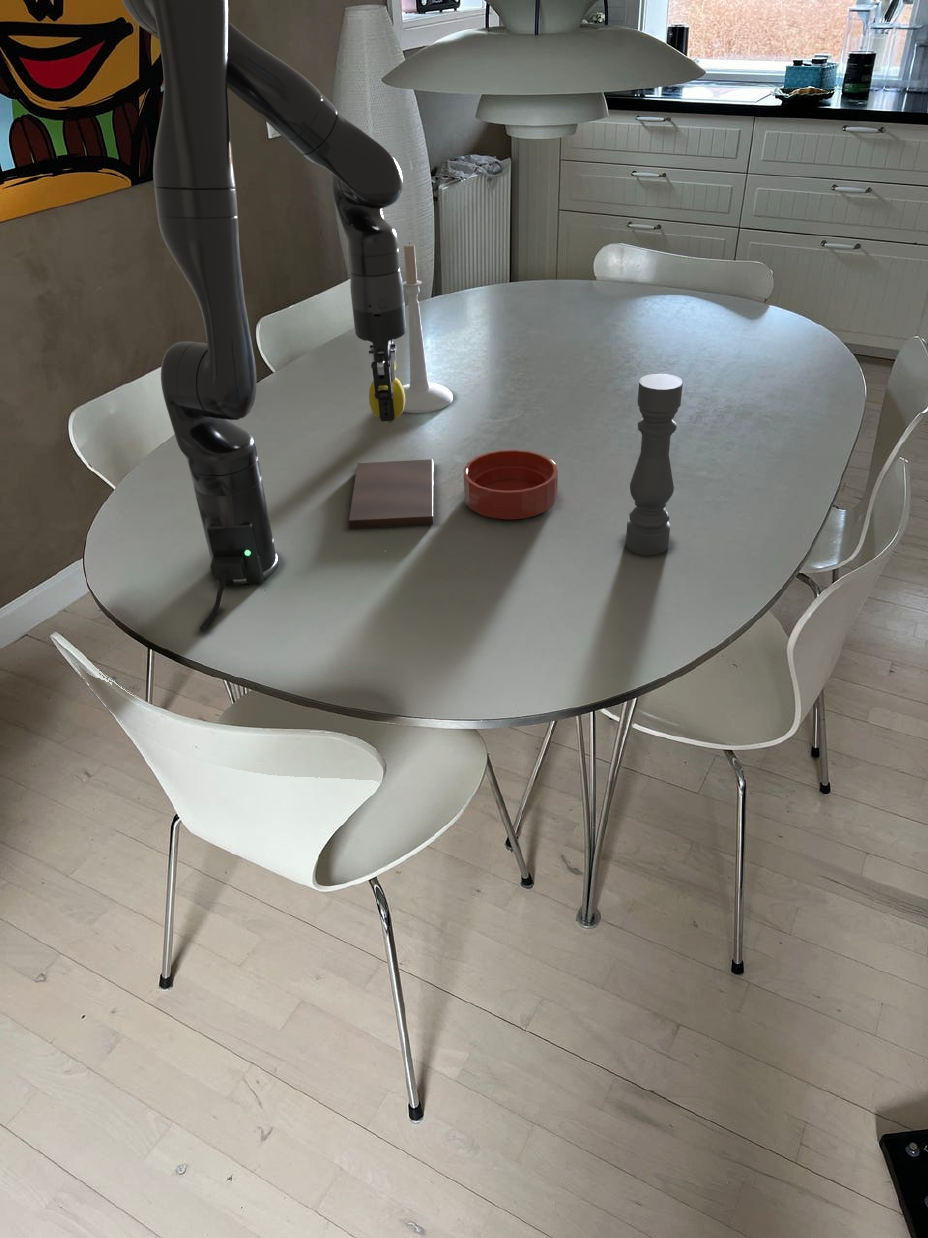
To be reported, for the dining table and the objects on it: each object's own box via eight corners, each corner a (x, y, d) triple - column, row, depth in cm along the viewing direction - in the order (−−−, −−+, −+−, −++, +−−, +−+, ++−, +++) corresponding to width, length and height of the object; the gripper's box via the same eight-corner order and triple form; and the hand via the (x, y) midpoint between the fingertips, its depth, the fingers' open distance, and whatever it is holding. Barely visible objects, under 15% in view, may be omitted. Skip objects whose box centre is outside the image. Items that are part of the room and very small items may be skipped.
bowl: (561, 519, 144) (562, 489, 140) (466, 524, 144) (464, 494, 140) (551, 475, 156) (552, 447, 152) (463, 480, 156) (462, 452, 153)
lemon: (402, 430, 142) (397, 380, 137) (367, 429, 143) (361, 379, 138) (410, 416, 146) (407, 367, 141) (377, 414, 147) (372, 365, 142)
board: (433, 524, 144) (432, 516, 143) (349, 528, 144) (348, 520, 143) (433, 466, 160) (432, 459, 159) (358, 470, 160) (357, 462, 159)
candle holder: (639, 529, 140) (652, 369, 126) (676, 541, 137) (693, 378, 122) (617, 546, 136) (628, 383, 122) (654, 560, 133) (670, 393, 118)
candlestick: (379, 395, 187) (363, 239, 170) (438, 383, 191) (428, 229, 174) (402, 417, 178) (387, 255, 160) (462, 404, 182) (455, 244, 164)
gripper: (355, 288, 139) (366, 395, 149) (348, 319, 128) (361, 432, 137) (405, 286, 139) (413, 393, 149) (402, 316, 128) (411, 430, 137)
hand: (388, 411), depth 143 cm, fingers closed on lemon, 5 cm apart
